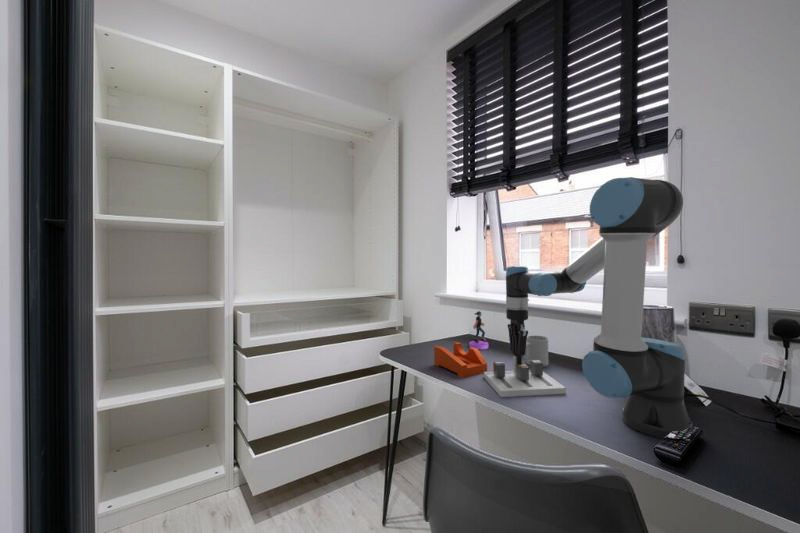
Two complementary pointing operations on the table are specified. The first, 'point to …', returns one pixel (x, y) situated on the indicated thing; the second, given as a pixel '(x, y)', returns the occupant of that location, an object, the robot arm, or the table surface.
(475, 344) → the figurine
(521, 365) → the block
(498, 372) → the block
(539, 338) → the mug
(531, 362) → the block
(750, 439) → the table surface
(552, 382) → the panel
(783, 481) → the table surface
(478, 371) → the tape dispenser
